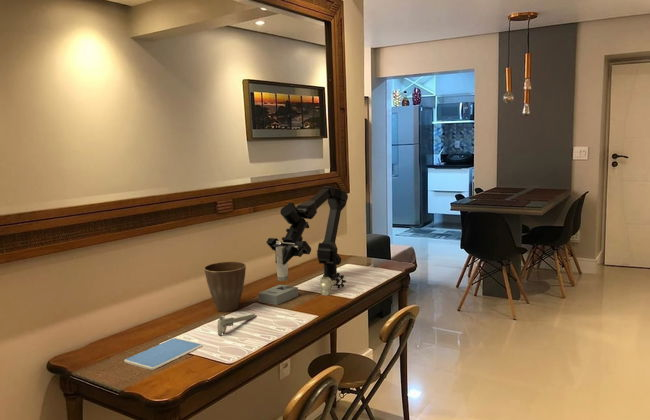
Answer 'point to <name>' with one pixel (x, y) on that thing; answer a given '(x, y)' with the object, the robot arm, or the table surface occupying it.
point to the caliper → (231, 322)
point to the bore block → (278, 294)
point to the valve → (330, 283)
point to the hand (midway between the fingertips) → (279, 264)
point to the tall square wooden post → (281, 269)
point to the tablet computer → (162, 354)
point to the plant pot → (226, 284)
